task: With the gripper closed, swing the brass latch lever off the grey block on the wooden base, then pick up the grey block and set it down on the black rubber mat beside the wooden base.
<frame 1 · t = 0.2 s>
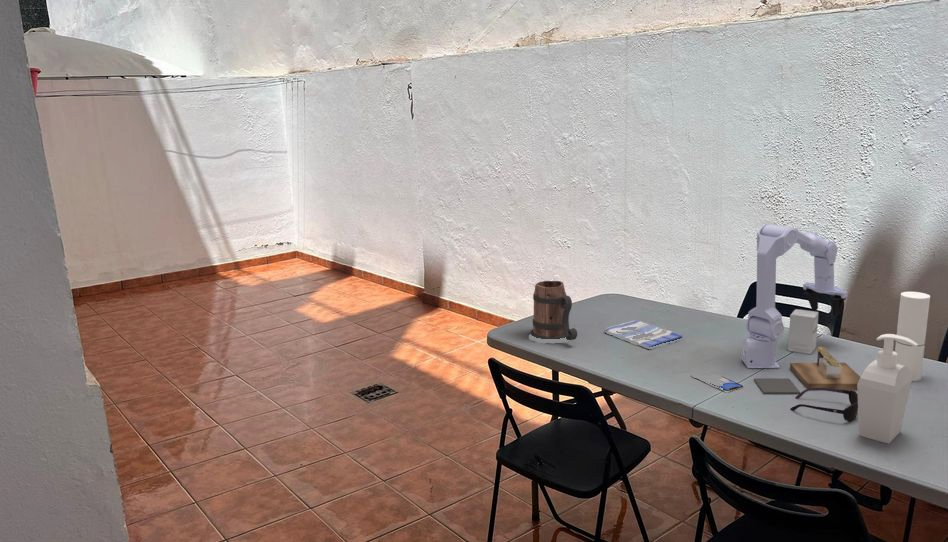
hand: (825, 312, 232), 11 cm above the table, tool pointing down, fingers open, 7 cm apart
dish towel: (642, 338, 250), on the table
grey block: (829, 374, 204), point 2 cm above the table, touching wooden base
rubber mat: (776, 387, 202), on the table
lever: (828, 356, 205), point 7 cm above the table, hinge at 0.0°
cylindrical container: (906, 377, 205), on the table
soap bottle: (883, 435, 172), on the table
smartphone: (716, 383, 208), on the table
supplement box: (801, 349, 230), on the table
sunglasses: (824, 411, 187), on the table
tankard: (555, 339, 252), on the table
wooden base: (826, 379, 206), on the table
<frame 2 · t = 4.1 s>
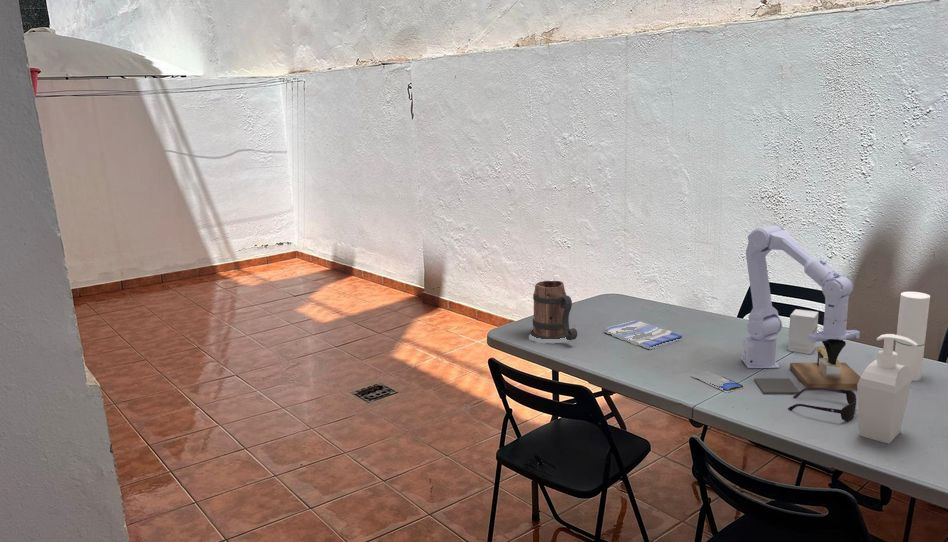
hand: (831, 363, 200), 7 cm above the table, tool pointing down, fingers closed, pressing on lever
lever: (828, 356, 205), point 7 cm above the table, hinge at 1.5°, touching gripper
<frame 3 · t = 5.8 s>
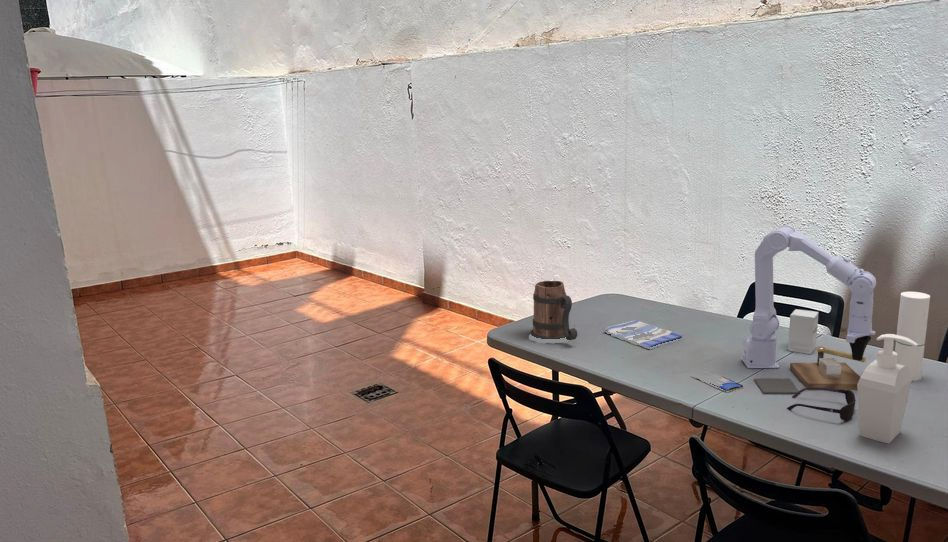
hand: (857, 359, 202), 7 cm above the table, tool pointing down, fingers closed, pressing on lever
lever: (840, 354, 206), point 7 cm above the table, hinge at 47.0°, touching gripper
everything else where it was.
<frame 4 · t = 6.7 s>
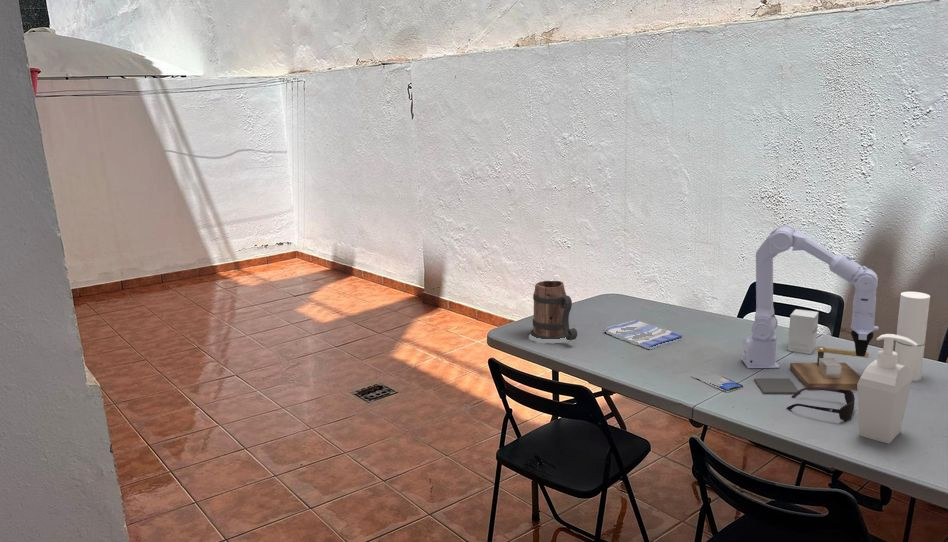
hand: (860, 355, 204), 7 cm above the table, tool pointing down, fingers closed, pressing on lever
lever: (842, 352, 207), point 7 cm above the table, hinge at 67.2°, touching gripper
everything else where it was.
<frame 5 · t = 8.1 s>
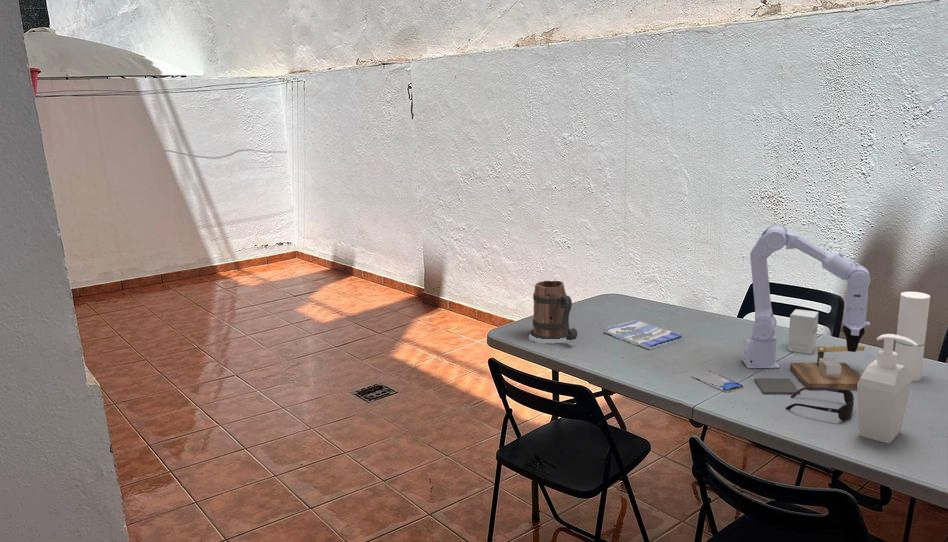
hand: (851, 350, 207), 7 cm above the table, tool pointing down, fingers closed
lever: (840, 348, 210), point 7 cm above the table, hinge at 95.0°
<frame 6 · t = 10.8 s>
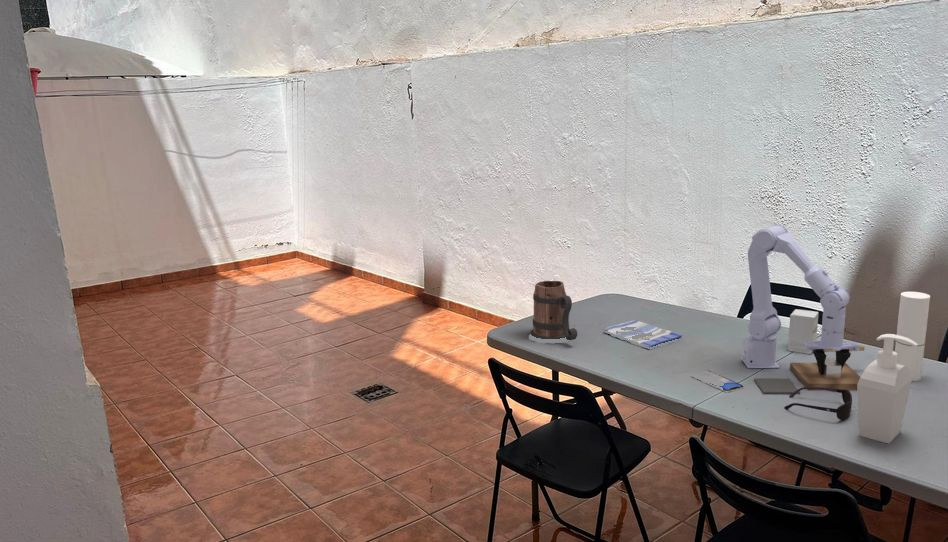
hand: (829, 373, 204), 2 cm above the table, tool pointing down, fingers closed on grey block, 4 cm apart
grey block: (829, 374, 204), point 2 cm above the table, touching gripper, wooden base
when the fingers open (3 cm above the table, at t = 14.7 s): grey block stays where it is, resting on rubber mat.
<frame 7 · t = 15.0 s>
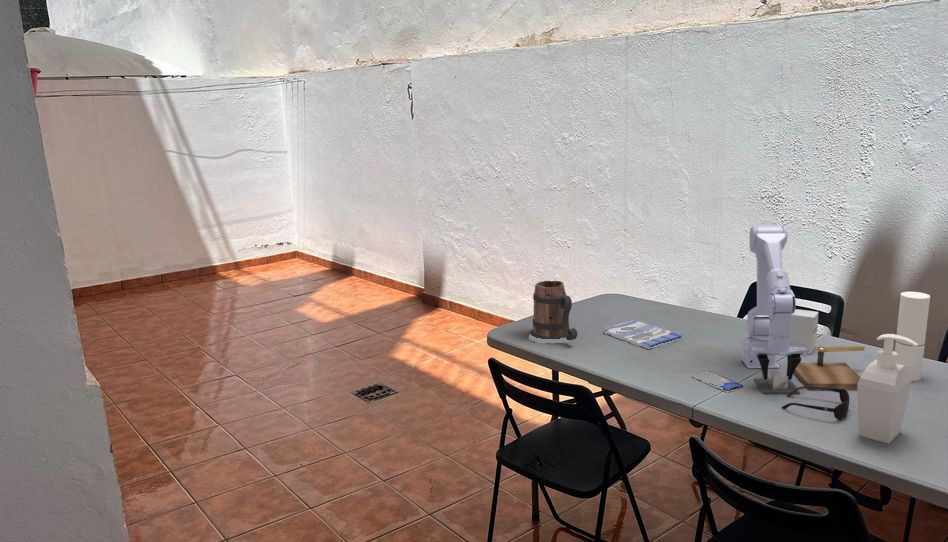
hand: (777, 378, 202), 3 cm above the table, tool pointing down, fingers open, 6 cm apart
grey block: (776, 385, 202), point 1 cm above the table, touching rubber mat
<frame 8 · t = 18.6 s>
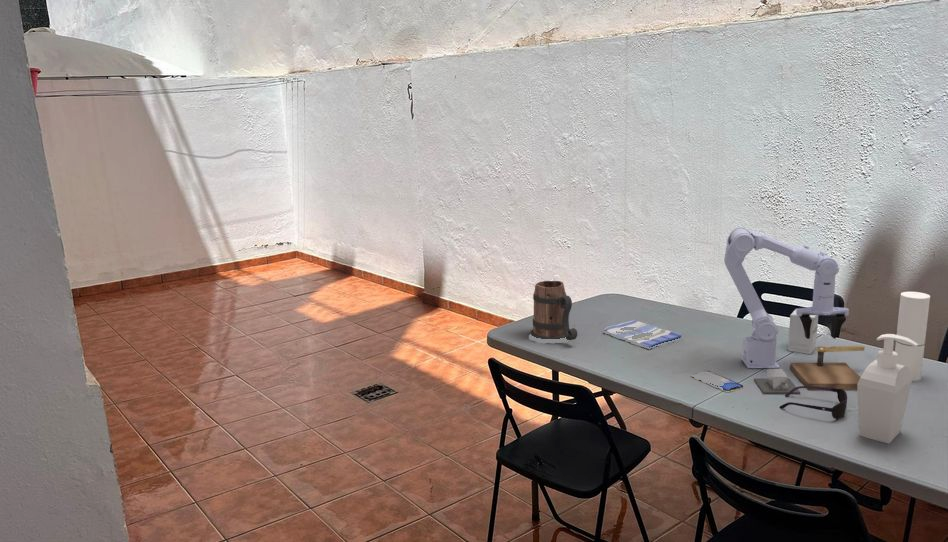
hand: (820, 337, 213), 9 cm above the table, tool pointing down, fingers open, 7 cm apart
at the end: lever at +95° (first picture: +0°); grey block inside the target area on the rubber mat (0.4 cm from its centre), point 0.6 cm above the rubber mat's base; grey block tilted 0° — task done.
